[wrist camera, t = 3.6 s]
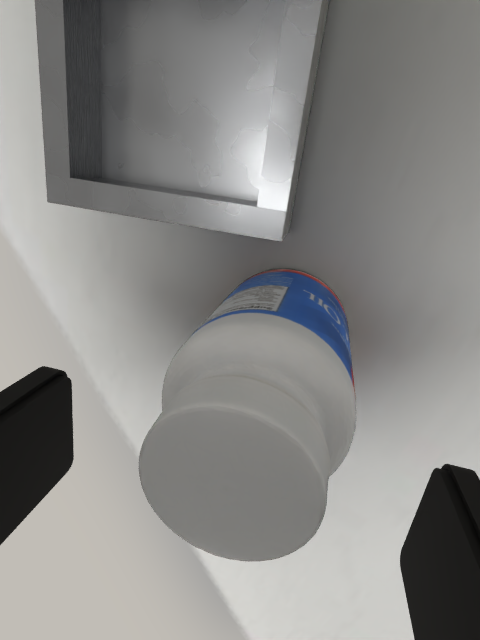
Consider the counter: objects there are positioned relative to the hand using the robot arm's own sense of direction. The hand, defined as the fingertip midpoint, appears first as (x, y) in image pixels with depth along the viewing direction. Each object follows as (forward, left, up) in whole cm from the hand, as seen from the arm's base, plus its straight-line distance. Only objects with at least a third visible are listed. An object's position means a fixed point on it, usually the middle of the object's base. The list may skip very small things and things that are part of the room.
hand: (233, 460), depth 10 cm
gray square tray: (+5, -9, -8) cm, 13 cm away
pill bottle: (0, -1, -8) cm, 8 cm away
